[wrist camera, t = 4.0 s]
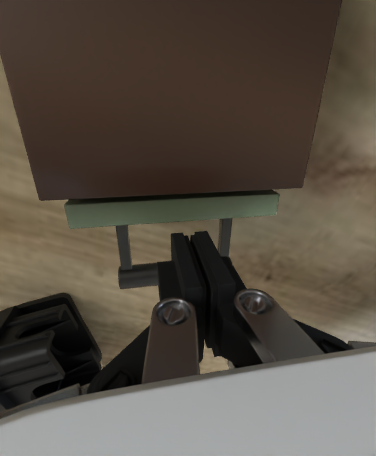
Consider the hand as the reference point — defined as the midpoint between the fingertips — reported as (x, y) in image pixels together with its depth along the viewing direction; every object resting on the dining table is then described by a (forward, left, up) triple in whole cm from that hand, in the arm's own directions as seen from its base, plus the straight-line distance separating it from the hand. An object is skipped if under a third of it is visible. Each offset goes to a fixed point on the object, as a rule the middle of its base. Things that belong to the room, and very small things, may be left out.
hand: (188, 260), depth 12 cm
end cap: (-12, -13, -9) cm, 20 cm away
